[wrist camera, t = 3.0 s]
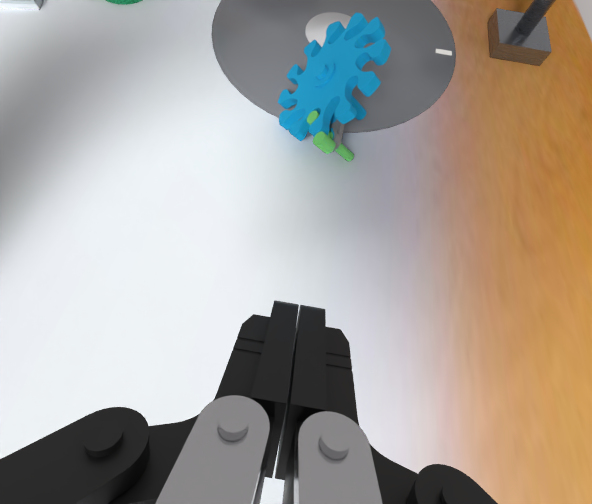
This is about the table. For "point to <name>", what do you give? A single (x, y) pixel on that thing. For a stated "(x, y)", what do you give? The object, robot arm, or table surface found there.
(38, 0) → the hard drive
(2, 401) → the table surface
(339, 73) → the gear
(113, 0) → the magnifying glass
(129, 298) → the table surface
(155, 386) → the table surface
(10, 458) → the robot arm
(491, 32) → the indicator stand
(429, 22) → the turntable
